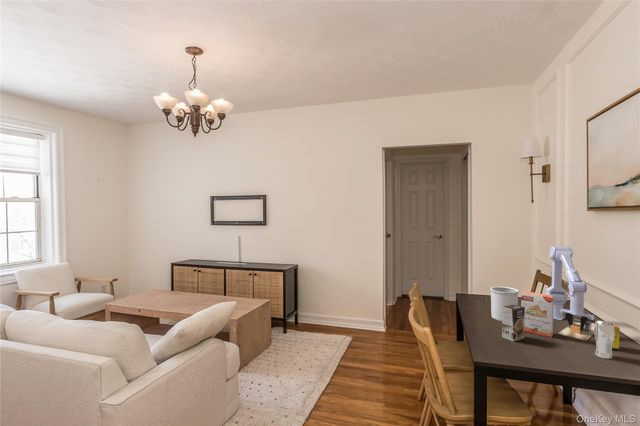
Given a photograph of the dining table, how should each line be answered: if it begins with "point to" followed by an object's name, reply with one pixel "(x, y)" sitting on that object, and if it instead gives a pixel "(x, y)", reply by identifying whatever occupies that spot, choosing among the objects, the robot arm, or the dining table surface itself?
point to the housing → (587, 324)
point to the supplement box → (616, 338)
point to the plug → (575, 328)
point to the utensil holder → (502, 300)
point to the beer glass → (604, 339)
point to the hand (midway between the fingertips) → (576, 329)
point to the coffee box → (513, 322)
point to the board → (581, 336)
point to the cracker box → (538, 313)
